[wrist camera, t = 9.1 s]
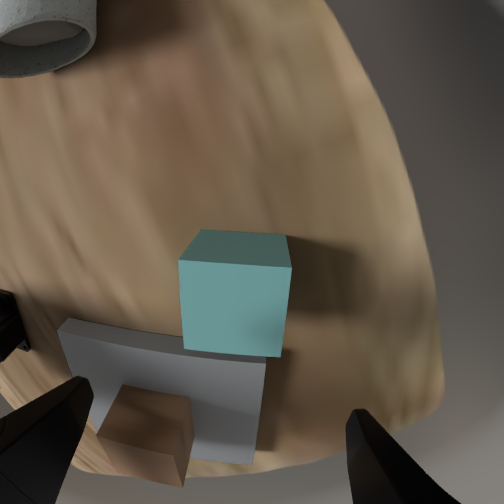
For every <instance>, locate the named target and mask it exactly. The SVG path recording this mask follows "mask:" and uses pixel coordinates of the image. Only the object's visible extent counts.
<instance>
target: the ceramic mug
mask: <svg viewBox="0 0 504 504" xmlns="http://www.w3.org/2000/svg"><path fill="white" fill-rule="evenodd" d="M96 6H97V0H0V78H23V77H28V76H35V75H39V74H43V73H47V72H51V71H53V70H56V69H59V68H61V67H63V66H66V65H68V64H70V63H72V62H74V61H76V60H77V59H80V58H81V57H82V56H84V55H85V54H86V53H88V51H89V50H90V49H91V48H92V47H93V45H94V43H95V40H96V35H97V32H96Z"/></svg>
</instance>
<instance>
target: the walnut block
mask: <svg viewBox="0 0 504 504" xmlns="http://www.w3.org/2000/svg"><path fill="white" fill-rule="evenodd" d="M96 436H97V438H98V440H99V442H100V444H101V445H102V447H103V449H104V451H105V452H106V454H107V456H108V458H109V459H110V461H111V463H112V464H113V466H114V468H115V469H116V471H118V472H121V473H124V474H128V475H131V476H135V477H138V478H142V479H146V480H150V481H154V482H159V483H163V484H168V485H172V486H177V487H183V485H184V480H185V476H186V471H187V467H188V463H189V458H190V454H191V450H192V445H193V441H194V437H195V435H194V428H193V420H192V412H191V404H190V397H187V396H180V395H174V394H168V393H163V392H157V391H152V390H147V389H142V388H138V387H133V386H129V385H124V384H122V386H121V388H120V390H119V392H118V394H117V396H116V397H115V399H114V401H113V403H112V405H111V407H110V409H109V411H108V413H107V415H106V417H105V419H104V421H103V423H102V425H101V426H100V428H99V430H98V432H97V434H96Z"/></svg>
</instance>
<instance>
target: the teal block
mask: <svg viewBox="0 0 504 504" xmlns="http://www.w3.org/2000/svg"><path fill="white" fill-rule="evenodd" d="M178 262H179V284H180V301H181V316H182V329H183V341H184V349H189V350H198V351H207V352H216V353H227V354H238V355H252V356H267V357H281V351H282V343H283V336H284V329H285V321H286V313H287V305H288V297H289V289H290V280H291V271H292V266H291V260H290V255H289V250H288V245H287V240H286V235H278V234H264V233H248V232H233V231H216V230H200V232H199V233H198V234H197V236H196V237H195V238H194V240H193V241H192V242H191V244H190V245H189V246H188V248H187V249H186V250H185V252H184V253H183V254H182V256H181V257H180V258H179V260H178Z"/></svg>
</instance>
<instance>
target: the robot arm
mask: <svg viewBox="0 0 504 504" xmlns="http://www.w3.org/2000/svg"><path fill="white" fill-rule="evenodd" d="M16 348H19V349H21V350H24V351H26V352H28V351H29V350H30V349H31V348H30V345H29V342H28V339H27V336H26V334H25V331H24V328H23V325H22V322H21V319H20V316H19V313H18V310H17V306H16V303H15V299H14V297H13V295H12V294H11V293H9V292H5V291H1V290H0V363H1V362H3V361H4V360H5V359H6V358H7V357H8V356H9V355H10V354H11V353H12V352H13V351H14V350H15V349H16ZM93 400H94V393H93V390H92V387H91V385H90V382H89V380H88V379H87V378H86V377H82V376H75V377H73V378H72V379H70V380H68V381H66V382H65V383H63V384H61V385H59V386H58V387H56V388H54V389H52V390H51V391H49V392H47V393H45V394H44V395H42V396H40V397H38V398H36V399H35V400H33V401H31V402H29V403H28V404H26V405H24V406H22V407H20V408H19V409H17V410H15V411H13V412H12V413H10V414H8V415H7V416H4V417H3V418H1V419H0V504H55V502H56V500H57V496H58V494H59V491H60V489H61V486H62V483H63V481H64V478H65V476H66V473H67V470H68V468H69V465H70V463H71V460H72V458H73V456H74V453H75V451H76V448H77V446H78V444H79V441H80V439H81V437H82V434H83V431H84V428H85V425H86V422H87V419H88V415H89V412H90V409H91V406H92V403H93ZM346 447H347V465H348V466H347V467H348V474H349V480H350V486H351V493H352V499H353V504H461V503H460V502H458V501H457V500H456V499H454V498H453V497H452V496H451V495H449V494H448V493H447V492H446V491H444V490H443V489H442V488H441V487H440V486H439V485H438V484H437V483H436V482H435V481H434V480H433V479H432V478H431V477H430V476H429V475H428V474H426V472H425V471H424V470H423V469H422V468H421V467H420V466H419V465H418V464H417V463H416V462H415V461H414V460H413V459H412V458H411V457H410V456H409V454H407V452H406V451H405V450H404V449H403V448H402V447H401V446H400V445H399V444H398V443H397V442H396V441H395V440H394V439H393V438H392V437H391V436H390V434H389V433H388V432H387V431H386V430H385V429H384V428H383V427H382V426H381V425H380V424H379V423H378V422H377V421H376V420H375V418H374V417H373V416H372V415H371V414H370V413H369V412H368V411H367V410H366V409H354V410H353V411H352V413H351V415H350V417H349V419H348V421H347V424H346Z"/></svg>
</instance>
